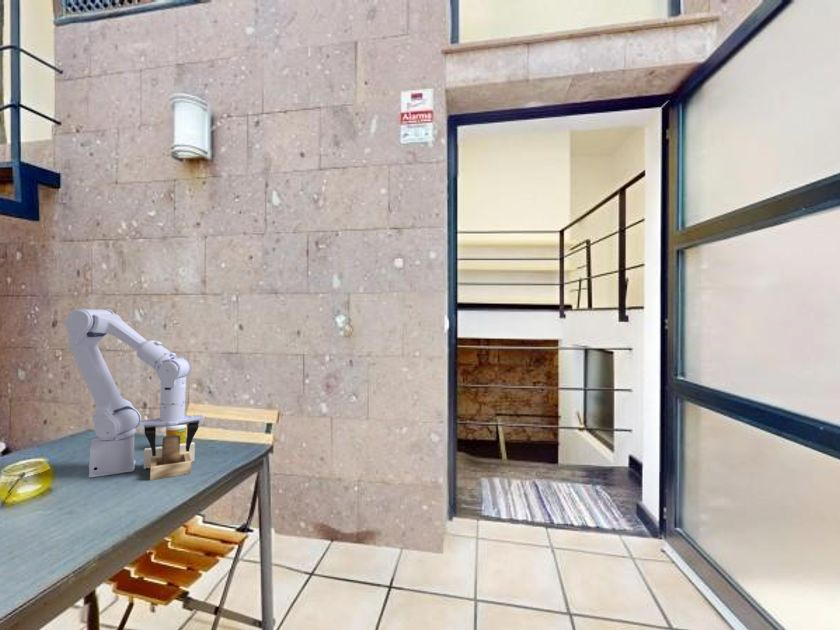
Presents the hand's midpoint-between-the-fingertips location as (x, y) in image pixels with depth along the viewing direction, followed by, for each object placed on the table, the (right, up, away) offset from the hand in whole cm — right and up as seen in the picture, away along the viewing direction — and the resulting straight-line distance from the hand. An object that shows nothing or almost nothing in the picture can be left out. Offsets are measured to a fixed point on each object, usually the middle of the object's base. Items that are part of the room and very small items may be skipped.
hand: (171, 452), depth 107 cm
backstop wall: (-3, -5, +4) cm, 7 cm away
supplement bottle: (-10, -5, +17) cm, 20 cm away
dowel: (0, -4, 0) cm, 4 cm away
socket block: (0, -5, 0) cm, 5 cm away
